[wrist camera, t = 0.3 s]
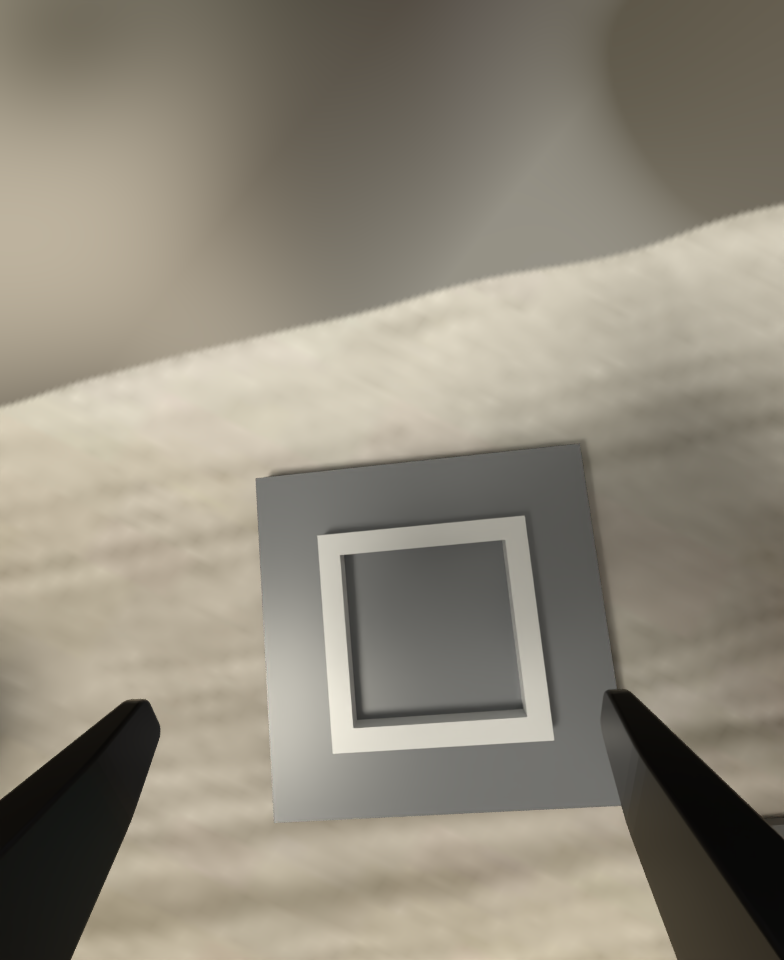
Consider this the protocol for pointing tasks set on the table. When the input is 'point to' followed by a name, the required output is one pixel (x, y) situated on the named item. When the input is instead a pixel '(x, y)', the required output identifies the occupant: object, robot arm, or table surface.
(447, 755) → the dock board
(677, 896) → the robot arm
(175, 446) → the table surface
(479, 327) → the table surface
